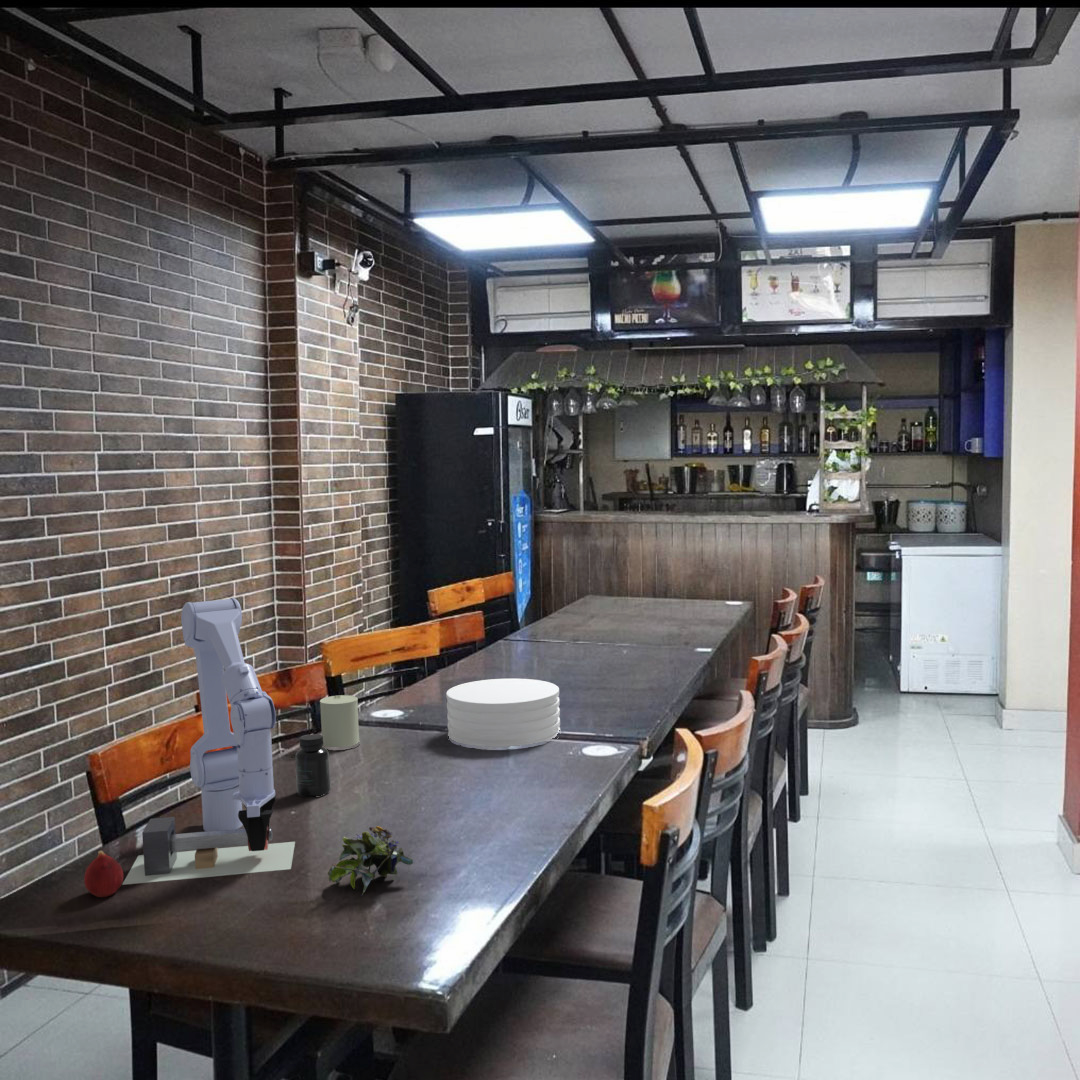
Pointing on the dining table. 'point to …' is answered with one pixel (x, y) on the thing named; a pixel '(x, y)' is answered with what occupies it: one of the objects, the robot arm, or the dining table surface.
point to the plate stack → (503, 712)
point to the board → (219, 864)
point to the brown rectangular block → (205, 858)
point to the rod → (212, 839)
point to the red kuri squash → (103, 876)
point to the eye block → (158, 846)
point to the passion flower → (368, 857)
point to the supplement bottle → (312, 767)
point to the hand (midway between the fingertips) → (259, 844)
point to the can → (339, 720)
